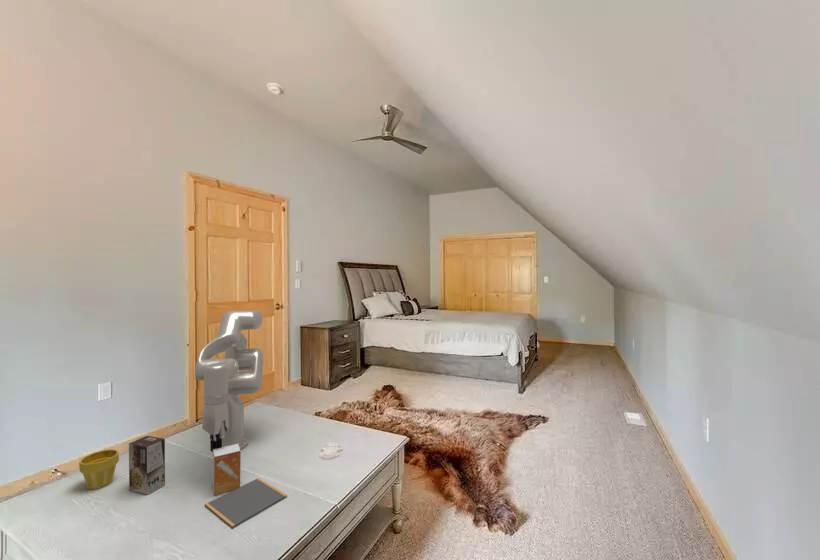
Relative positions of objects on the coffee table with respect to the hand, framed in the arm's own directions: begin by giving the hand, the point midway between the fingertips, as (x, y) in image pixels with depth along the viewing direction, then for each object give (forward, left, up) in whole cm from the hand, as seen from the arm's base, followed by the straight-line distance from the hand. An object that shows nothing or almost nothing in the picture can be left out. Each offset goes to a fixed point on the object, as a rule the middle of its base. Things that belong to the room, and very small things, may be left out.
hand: (216, 450), depth 124 cm
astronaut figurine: (+17, +38, -11) cm, 43 cm away
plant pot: (-31, -25, -11) cm, 41 cm away
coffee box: (-15, -16, -11) cm, 24 cm away
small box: (+7, 0, -11) cm, 13 cm away
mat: (+20, 0, -11) cm, 23 cm away
